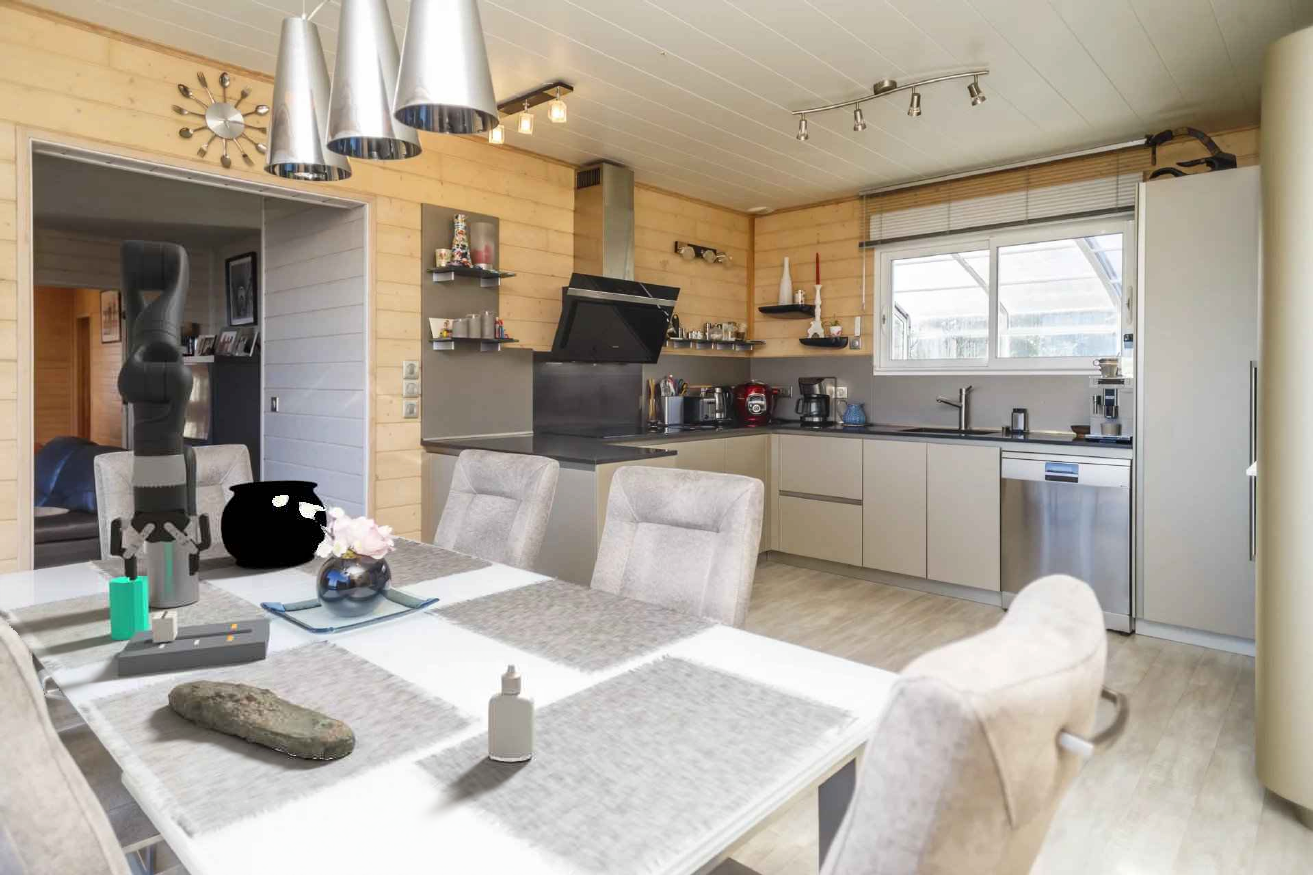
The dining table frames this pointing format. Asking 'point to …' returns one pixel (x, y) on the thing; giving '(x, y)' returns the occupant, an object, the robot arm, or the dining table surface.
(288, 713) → the long grey stone
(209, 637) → the fader console
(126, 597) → the candle
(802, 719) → the dining table surface
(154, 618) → the fader
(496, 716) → the eye dropper bottle
